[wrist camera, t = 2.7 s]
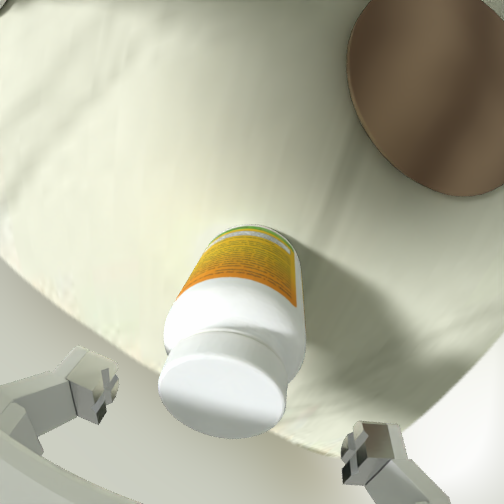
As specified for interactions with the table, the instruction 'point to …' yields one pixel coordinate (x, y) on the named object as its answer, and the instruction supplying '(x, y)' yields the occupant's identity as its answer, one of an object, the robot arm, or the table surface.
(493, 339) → the table surface
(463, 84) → the walnut coaster
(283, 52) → the table surface
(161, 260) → the table surface
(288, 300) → the supplement bottle
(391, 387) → the table surface
